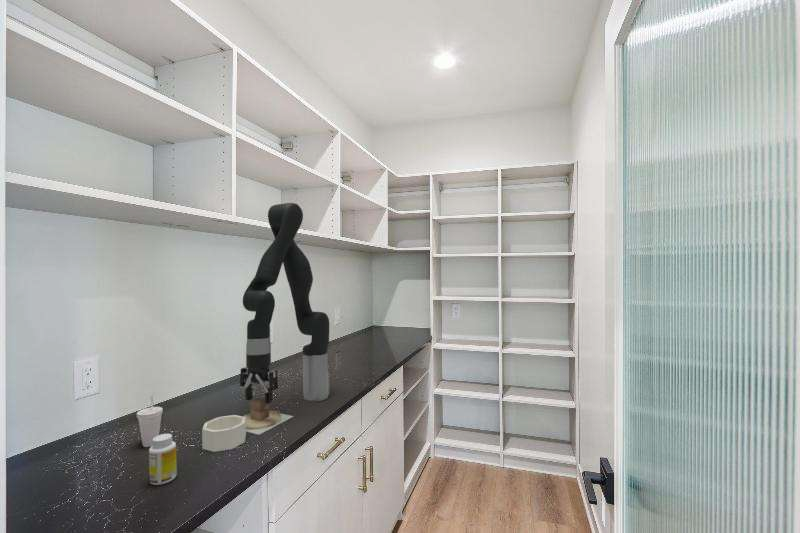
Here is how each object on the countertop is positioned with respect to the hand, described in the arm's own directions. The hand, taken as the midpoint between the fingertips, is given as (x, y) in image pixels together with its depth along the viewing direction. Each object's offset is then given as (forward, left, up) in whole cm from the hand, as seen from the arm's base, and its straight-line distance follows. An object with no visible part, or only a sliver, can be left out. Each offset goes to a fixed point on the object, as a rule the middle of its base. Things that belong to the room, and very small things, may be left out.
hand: (258, 401), depth 123 cm
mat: (0, 0, -7) cm, 7 cm away
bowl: (+15, +2, -7) cm, 16 cm away
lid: (0, 0, -6) cm, 6 cm away
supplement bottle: (+34, +4, -7) cm, 35 cm away
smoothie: (+24, -18, -7) cm, 31 cm away
